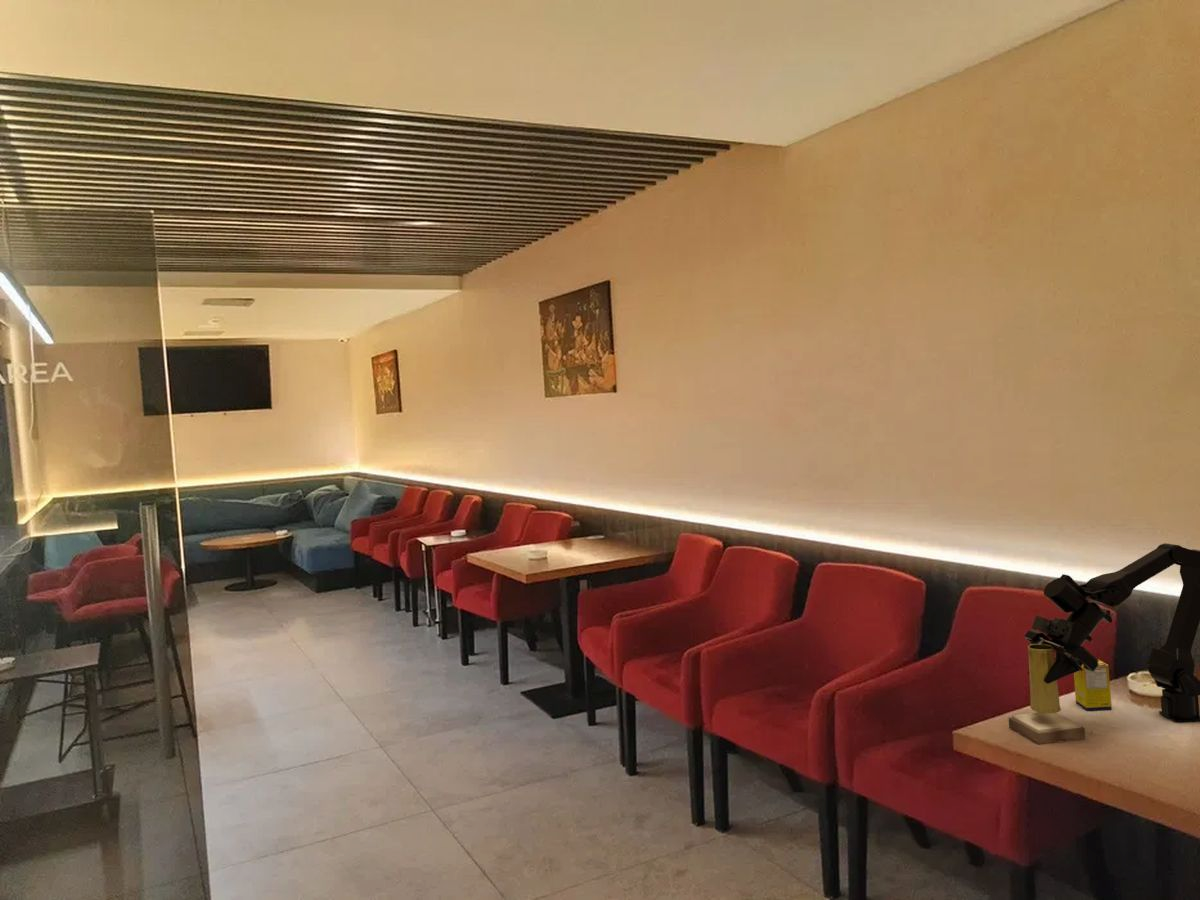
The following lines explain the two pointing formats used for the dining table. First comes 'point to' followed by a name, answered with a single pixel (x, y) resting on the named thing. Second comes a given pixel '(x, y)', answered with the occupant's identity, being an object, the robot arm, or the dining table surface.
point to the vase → (1042, 679)
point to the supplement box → (1093, 688)
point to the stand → (1046, 727)
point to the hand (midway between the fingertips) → (1037, 678)
